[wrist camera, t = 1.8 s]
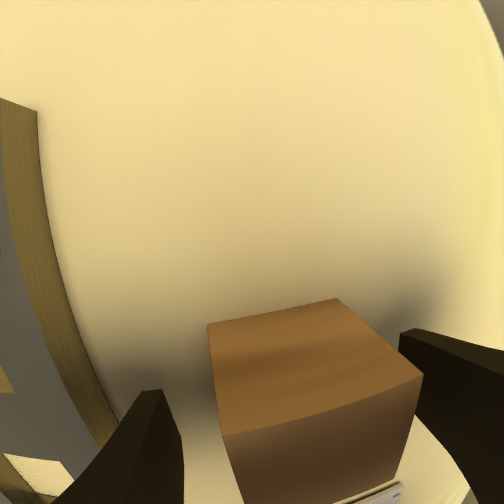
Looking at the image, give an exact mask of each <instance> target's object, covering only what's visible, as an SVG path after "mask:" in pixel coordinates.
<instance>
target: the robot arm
mask: <svg viewBox="0 0 504 504" xmlns="http://www.w3.org/2000/svg"><path fill="white" fill-rule="evenodd" d="M398 352H399V353H400V354H402V355H403V356H404V357H405V358H406V359H407V360H408V361H409V362H411V363H412V364H413V365H414V366H415V367H416V368H417V369H419V370H420V371H421V372H422V373H423V374H424V375H423V380H422V385H421V389H420V393H419V398H418V402H417V406H416V410H415V415H416V416H417V417H418V418H419V420H420V421H421V422H422V423H423V424H424V425H425V426H426V427H427V429H428V430H429V431H430V432H431V433H432V434H433V435H434V436H435V438H436V439H437V440H438V441H439V442H440V443H441V444H442V445H443V447H444V448H445V449H446V450H447V451H448V453H449V454H450V455H451V457H452V458H453V460H454V461H455V463H456V464H457V466H458V467H459V469H460V470H461V472H462V473H463V475H464V477H465V479H466V480H467V482H468V484H469V486H470V487H471V489H472V491H473V493H474V495H475V497H476V498H477V501H478V503H479V504H504V351H502V350H498V349H493V348H488V347H484V346H480V345H476V344H473V343H469V342H465V341H462V340H458V339H455V338H451V337H448V336H444V335H441V334H437V333H434V332H430V331H426V330H421V329H416V328H414V329H411V330H408V331H406V332H403V333H400V337H399V347H398ZM403 490H404V486H403V484H397V485H395V486H393V487H391V488H388V489H386V490H384V491H382V492H380V493H377V494H375V495H373V496H370V497H368V498H365V499H363V500H360V501H358V502H355V503H353V504H397V502H398V500H399V498H400V496H401V494H402V492H403ZM50 504H184V460H183V450H182V440H181V436H180V433H179V431H178V429H177V426H176V424H175V421H174V419H173V416H172V414H171V411H170V408H169V406H168V403H167V401H166V398H165V395H164V393H163V390H162V389H158V390H149V391H142V392H141V393H140V394H139V396H138V397H137V399H136V400H135V401H134V403H133V404H132V406H131V407H130V409H129V410H128V412H127V413H126V415H125V416H124V418H123V419H122V421H121V422H120V424H119V425H118V427H117V428H116V430H115V431H114V432H113V434H112V435H111V437H110V438H109V440H108V441H107V442H106V444H105V445H104V446H103V448H102V449H101V450H100V452H99V453H98V454H97V455H96V457H95V458H94V459H93V460H92V462H91V463H90V464H89V465H88V467H87V468H86V469H85V470H84V471H83V472H82V474H81V475H80V476H79V477H78V478H77V479H76V480H75V481H74V482H73V483H72V484H71V485H70V486H69V487H68V488H67V489H66V490H65V491H64V492H63V493H62V494H61V495H60V496H59V497H57V498H56V499H55V500H54V501H53V502H51V503H50Z"/></svg>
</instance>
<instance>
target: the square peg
mask: <svg viewBox="0 0 504 504" xmlns="http://www.w3.org/2000/svg"><path fill="white" fill-rule="evenodd" d="M207 328H208V337H209V346H210V354H211V362H212V370H213V378H214V385H215V393H216V400H217V407H218V414H219V420H220V427H221V433H222V438H223V441H224V444H225V447H226V451H227V454H228V457H229V460H230V463H231V466H232V469H233V472H234V475H235V478H236V481H237V484H238V487H239V490H240V493H241V495H242V498H243V501H244V504H333V503H336V502H338V501H341V500H344V499H347V498H350V497H352V496H355V495H357V494H360V493H362V492H365V491H367V490H370V489H372V488H375V487H377V486H379V485H381V484H384V483H386V482H388V481H390V480H392V479H394V477H395V474H396V471H397V468H398V466H399V463H400V460H401V457H402V454H403V451H404V448H405V445H406V442H407V438H408V435H409V432H410V428H411V425H412V421H413V417H414V414H415V410H416V406H417V402H418V398H419V393H420V389H421V385H422V380H423V375H424V374H423V373H422V372H421V371H420V370H419V369H417V368H416V367H415V366H414V365H413V364H412V363H411V362H409V361H408V360H407V359H406V358H405V357H404V356H403V355H402V354H400V353H399V352H398V351H397V350H396V349H395V348H394V347H392V346H391V345H390V344H389V343H388V342H387V341H386V340H384V339H383V338H382V337H381V336H380V335H379V334H378V333H376V332H375V331H374V330H373V329H372V328H371V327H370V326H368V325H367V324H366V323H365V322H364V321H363V320H361V319H360V318H359V317H358V316H357V315H356V314H355V313H353V312H352V311H351V310H350V309H349V308H348V307H346V306H345V305H344V304H343V303H342V302H341V301H339V300H338V299H337V298H334V299H330V300H325V301H321V302H317V303H312V304H308V305H303V306H299V307H294V308H289V309H284V310H280V311H275V312H270V313H265V314H260V315H255V316H250V317H244V318H239V319H234V320H228V321H223V322H217V323H211V324H207Z"/></svg>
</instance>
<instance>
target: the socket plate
mask: <svg viewBox="0 0 504 504" xmlns="http://www.w3.org/2000/svg"><path fill="white" fill-rule="evenodd" d="M118 425H119V424H118V422H117V420H116V418H115V416H114V414H113V412H112V410H111V408H110V406H109V404H108V402H107V400H106V398H105V395H104V393H103V391H102V389H101V387H100V385H99V382H98V380H97V378H96V375H95V373H94V371H93V368H92V366H91V364H90V361H89V359H88V356H87V354H86V351H85V349H84V346H83V343H82V341H81V338H80V335H79V332H78V330H77V327H76V324H75V321H74V318H73V315H72V312H71V309H70V306H69V303H68V299H67V296H66V293H65V289H64V286H63V282H62V279H61V275H60V271H59V267H58V264H57V260H56V255H55V251H54V247H53V242H52V238H51V233H50V228H49V223H48V218H47V212H46V206H45V200H44V194H43V187H42V179H41V171H40V161H39V151H38V137H37V115H36V111H34V110H31V109H29V108H26V107H23V106H21V105H18V104H16V103H13V102H10V101H8V100H5V99H2V98H0V504H50V503H51V502H53V501H54V500H55V499H56V498H57V497H52V496H47V495H41V494H36V493H35V491H34V490H33V489H32V488H31V487H30V486H29V485H28V484H27V483H26V482H25V481H24V479H23V478H22V477H21V476H20V475H19V474H18V473H17V471H16V470H15V469H14V468H13V467H12V465H11V464H10V463H9V462H8V460H7V459H6V458H5V457H4V455H3V454H2V453H6V454H11V455H17V456H23V457H29V458H36V459H43V460H52V461H60V462H61V464H62V465H63V466H64V468H65V469H66V470H67V471H68V473H69V474H70V475H71V476H72V478H73V479H74V480H76V479H77V478H78V477H79V476H80V475H81V474H82V472H83V471H84V470H85V469H86V468H87V467H88V465H89V464H90V463H91V462H92V460H93V459H94V458H95V457H96V455H97V454H98V453H99V452H100V450H101V449H102V448H103V446H104V445H105V444H106V442H107V441H108V440H109V438H110V437H111V435H112V434H113V432H114V431H115V430H116V428H117V427H118Z"/></svg>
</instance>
